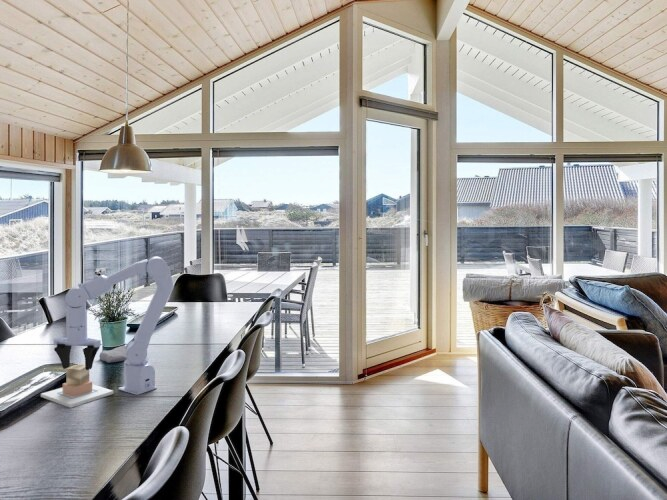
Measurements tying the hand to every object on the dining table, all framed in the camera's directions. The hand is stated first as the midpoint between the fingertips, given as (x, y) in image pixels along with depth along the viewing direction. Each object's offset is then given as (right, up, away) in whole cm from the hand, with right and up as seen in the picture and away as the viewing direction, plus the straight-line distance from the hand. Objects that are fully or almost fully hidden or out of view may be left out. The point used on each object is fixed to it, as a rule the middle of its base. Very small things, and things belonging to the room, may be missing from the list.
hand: (77, 368), depth 152 cm
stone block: (-5, -7, +41) cm, 42 cm away
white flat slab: (0, -9, +1) cm, 9 cm away
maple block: (0, -5, +1) cm, 5 cm away
